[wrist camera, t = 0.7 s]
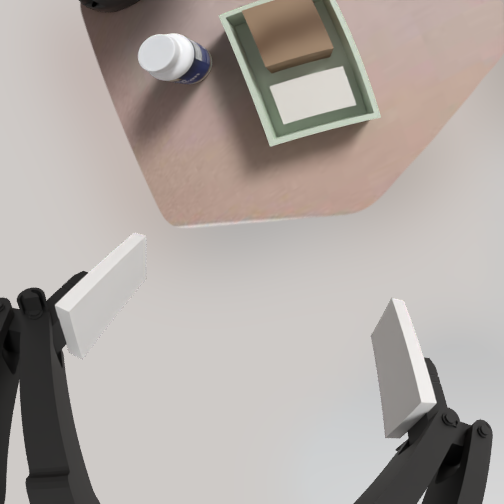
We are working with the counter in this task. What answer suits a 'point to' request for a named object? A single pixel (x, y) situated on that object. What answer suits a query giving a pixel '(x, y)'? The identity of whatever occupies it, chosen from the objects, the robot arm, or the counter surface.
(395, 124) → the counter surface
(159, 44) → the pill bottle
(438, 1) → the counter surface
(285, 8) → the walnut block
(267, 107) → the box
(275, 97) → the white box
